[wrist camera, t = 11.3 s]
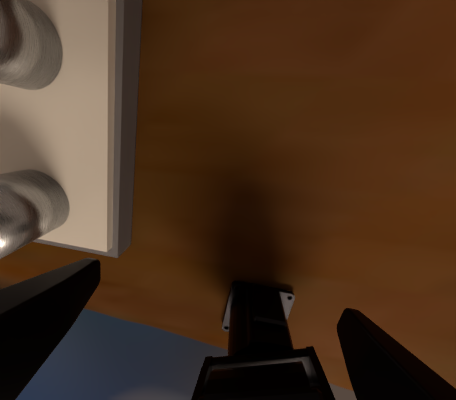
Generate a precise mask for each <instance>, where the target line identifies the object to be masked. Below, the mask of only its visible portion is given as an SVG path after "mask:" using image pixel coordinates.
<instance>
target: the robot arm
mask: <svg viewBox="0 0 456 400" xmlns="http://www.w3.org/2000/svg"><path fill="white" fill-rule="evenodd" d="M99 282H100V261H99V260H97V259H92V258H85V259H82V260H80V261H77V262H74V263H71V264H69V265H66V266H63V267H61V268H58V269H55V270H52V271H50V272H47V273H44V274H41V275H39V276H36V277H33V278H31V279H28V280H25V281H22V282H20V283H17V284H14V285H11V286H9V287H6V288H3V289H0V400H15V399H16V398H17V397H18V395H19V394H20V393H21V391H22V390H23V389H24V388H25V386H26V385H27V384H28V383H29V381H30V380H31V379H32V377H33V376H34V374H36V372H37V371H38V369H39V368H40V367H41V366H42V364H43V363H44V362H45V361H46V359H47V358H48V357H49V355H50V354H51V353H52V352H53V350H54V349H55V348H56V346H57V345H58V344H59V342H60V341H61V340H62V339H63V337H64V336H65V335H66V333H67V332H68V331H69V329H70V328H71V327H72V325H73V324H74V322H75V321H76V319H77V318H78V316H79V314H80V313H81V311H82V310H83V308H84V307H85V305H86V304H87V302H88V300H89V299H90V297H91V296H92V294H93V293H94V291H95V290H96V288H97V286H98V285H99ZM235 286H238V287H235ZM288 296H291V297H288ZM294 299H295V297H294V294H293V292H291V291H286V290H281V289H276V288H271V287H266V286H261V285H255V284H250V283H245V282H240V281H234V282H233V283H232V286H231V290H230V294H229V298H228V302H227V307H226V311H225V315H224V319H223V323H222V329H223V330H224V331H227V332H229V339H228V356H223V357H212V356H209V357H205V361H204V363H203V366H202V368H201V371H200V374H199V377H198V380H197V384H196V387H195V390H194V393H193V396H192V399H191V400H335V398H334V395H333V393H332V390H331V388H330V385H329V383H328V381H327V378H326V376H325V373H324V371H323V369H322V366H321V364H320V362H319V359H318V357H317V355H316V352H315V350H314V347H313V346H310V347H306V348H304V349H294V348H293V344H292V340H291V336H290V332H289V328H288V324H287V318H288V316H289V313H290V310H291V307H292V305H293V302H294ZM337 333H338V337H339V341H340V344H341V348H342V352H343V356H344V359H345V363H346V367H347V371H348V374H349V378H350V381H351V384H352V387H353V390H354V393H355V396H356V398H357V400H456V389H455V388H454V387H453V386H452V385H450V384H449V383H448V382H447V381H445V380H444V379H443V378H442V377H440V376H439V375H438V374H437V373H435V372H434V371H433V370H432V369H430V368H429V367H428V366H427V365H426V364H424V363H423V362H422V361H421V360H419V359H418V358H417V357H416V356H414V355H413V354H412V353H411V352H409V351H408V350H407V349H406V348H405V347H403V346H402V345H401V344H400V343H398V342H397V341H396V340H395V339H393V338H392V337H391V336H390V335H388V334H387V333H386V332H385V331H384V330H382V329H381V328H380V327H379V326H377V325H376V324H375V323H374V322H372V321H371V320H370V319H369V318H367V317H366V316H365V315H364V314H363V313H361V312H360V311H358V310H356V309H351V308H346V309H345V310H344V311H343V313H342V315H341V317H340V320H339V322H338V324H337Z"/></svg>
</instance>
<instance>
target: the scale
mask: <svg viewBox="0 0 456 400" xmlns="http://www.w3.org/2000/svg"><path fill="white" fill-rule="evenodd" d="M29 1H31V2H32V3H33V4H35V5H36V6H38V7H39V8H40V9H41V10H42V11H43V12H44V13H45V14H46V15H47V16H48V17H49V18H50V20H51V21H52V23H53V24H54V26H55V28H56V30H57V32H58V35H59V38H60V41H61V46H62V64H61V68H60V71H59V73H58V75H57V77H56V78H55V80H54V81H53V82H52V83H51V84H49V85H48V86H46V87H44V88H42V89H38V90H27V89H22V88H18V87H14V86H9V85H5V84H1V83H0V174H3V173H9V172H14V171H20V170H26V169H31V170H37V171H40V172H43V173H45V174H47V175H49V176H50V177H52V178H53V179H54V180H55V181H57V182H58V183H59V185H60V186H61V187H62V188H63V190H64V191H65V193H66V195H67V198H68V201H69V206H70V211H69V216H68V218H67V220H66V222H65V223H64V224H63V225H61V226H60V227H58V228H56V229H54V230H53V231H51V232H49V233H47V234H45V235H43V236H41V237H40V238H38V239H36V240H34V241H33V242H38V243H43V244H49V245H54V246H59V247H64V248H69V249H74V250H80V251H85V252H90V253H95V254H100V255H105V256H111V257H116V258H118V257H119V256H120V255H121V254H122V253H123V252H124V251H125V250H126V249H127V248H128V247H129V246H130V245H131V230H132V209H133V187H134V166H135V145H136V124H137V103H138V81H139V60H140V39H141V18H142V0H29Z"/></svg>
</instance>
